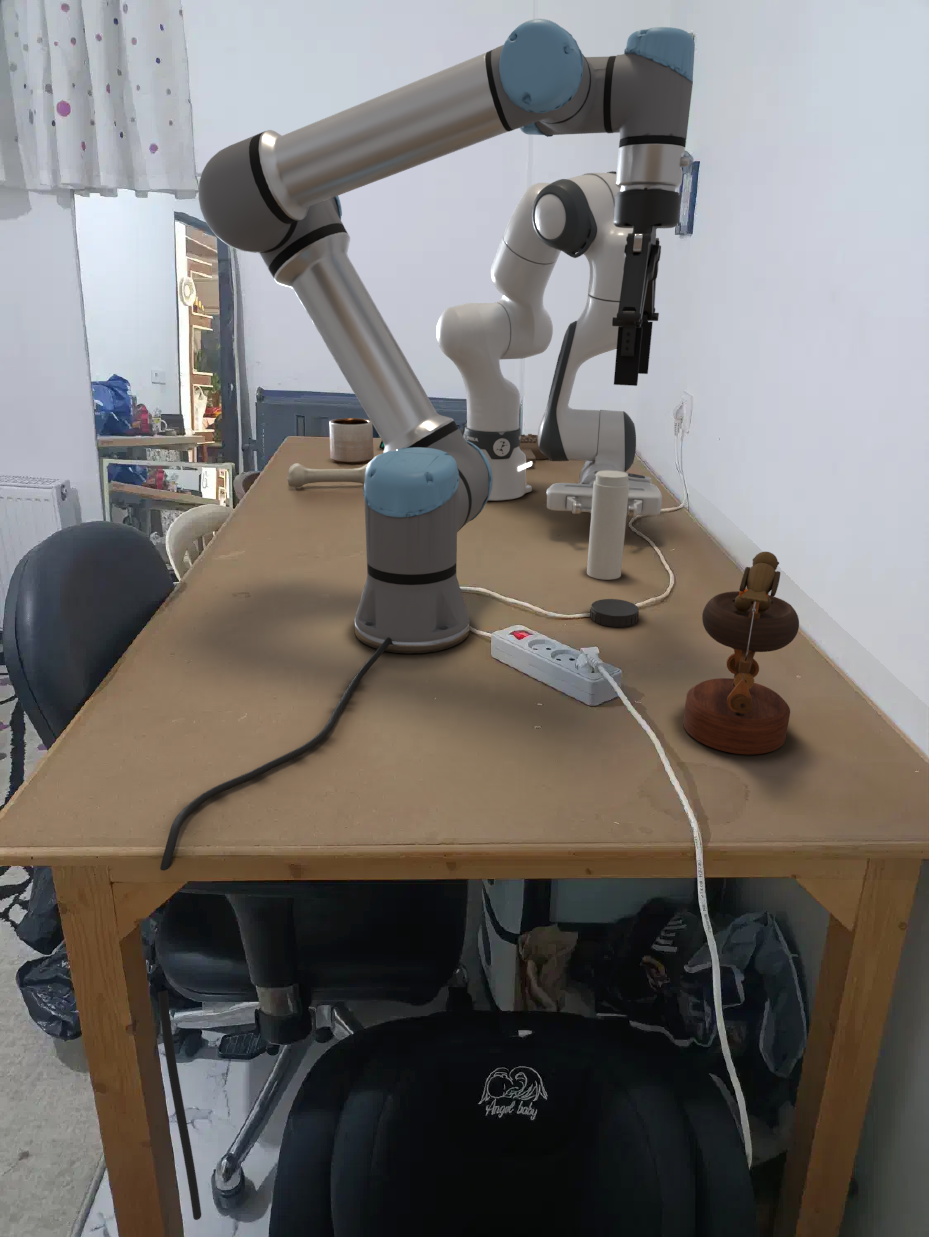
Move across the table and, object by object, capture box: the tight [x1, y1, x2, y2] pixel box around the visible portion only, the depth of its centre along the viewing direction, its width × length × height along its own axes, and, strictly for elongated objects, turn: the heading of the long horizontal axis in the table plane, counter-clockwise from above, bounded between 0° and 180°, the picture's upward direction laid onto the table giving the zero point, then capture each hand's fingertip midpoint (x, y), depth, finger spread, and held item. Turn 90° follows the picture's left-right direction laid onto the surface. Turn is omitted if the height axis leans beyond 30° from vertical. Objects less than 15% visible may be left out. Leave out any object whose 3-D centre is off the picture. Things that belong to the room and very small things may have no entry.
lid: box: [589, 598, 640, 628], centre depth 118 cm, size 7×7×2 cm
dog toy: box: [286, 462, 369, 488], centre depth 187 cm, size 20×6×5 cm, turn 99°
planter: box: [328, 417, 375, 464], centre depth 212 cm, size 11×11×10 cm
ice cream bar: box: [519, 433, 548, 464], centre depth 219 cm, size 21×28×4 cm
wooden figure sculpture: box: [682, 551, 800, 755], centre depth 87 cm, size 15×11×20 cm
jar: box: [586, 471, 629, 581], centre depth 133 cm, size 5×5×16 cm
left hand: (631, 379), depth 106 cm, fingers open, 13 cm apart
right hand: (604, 510), depth 145 cm, fingers open, 8 cm apart
